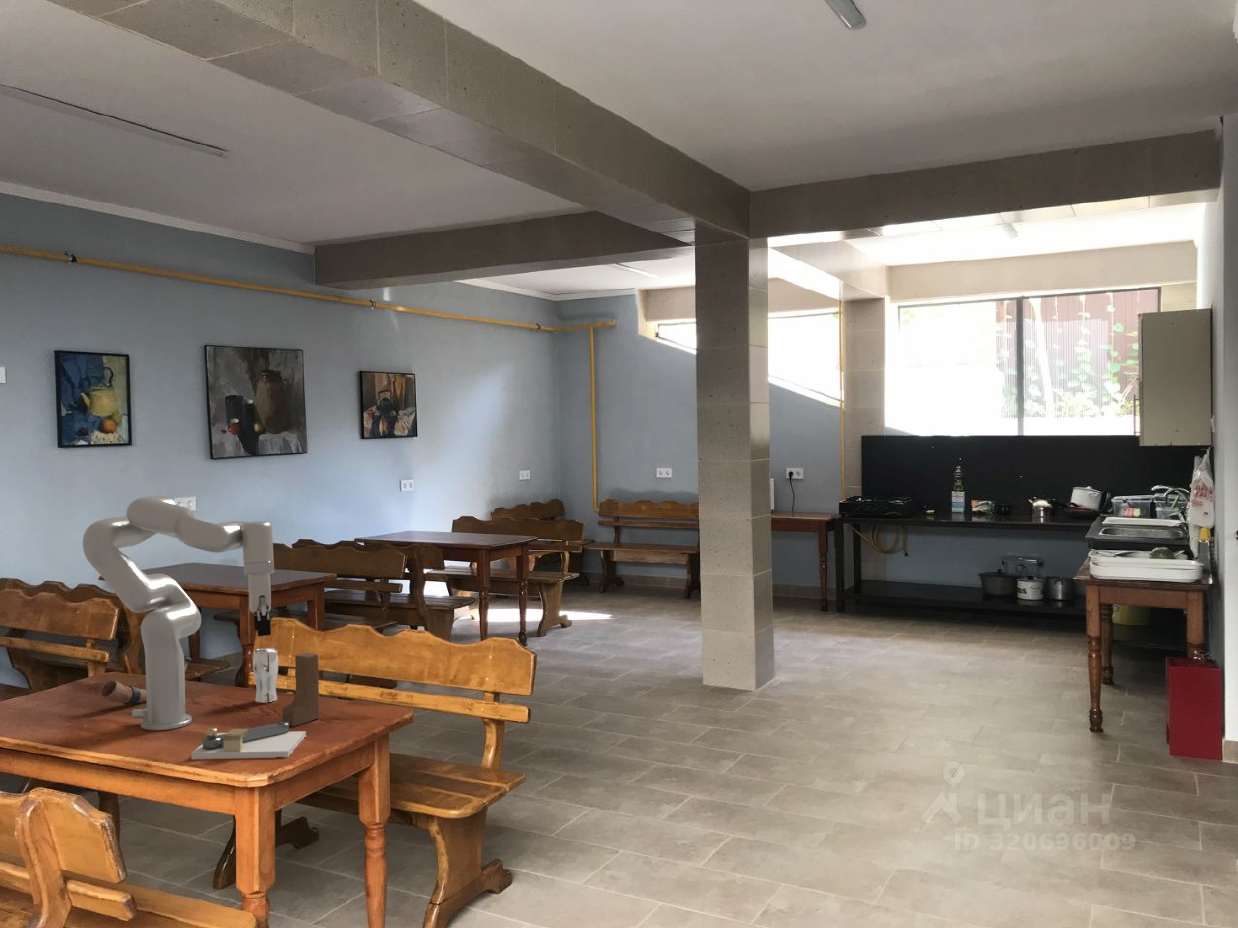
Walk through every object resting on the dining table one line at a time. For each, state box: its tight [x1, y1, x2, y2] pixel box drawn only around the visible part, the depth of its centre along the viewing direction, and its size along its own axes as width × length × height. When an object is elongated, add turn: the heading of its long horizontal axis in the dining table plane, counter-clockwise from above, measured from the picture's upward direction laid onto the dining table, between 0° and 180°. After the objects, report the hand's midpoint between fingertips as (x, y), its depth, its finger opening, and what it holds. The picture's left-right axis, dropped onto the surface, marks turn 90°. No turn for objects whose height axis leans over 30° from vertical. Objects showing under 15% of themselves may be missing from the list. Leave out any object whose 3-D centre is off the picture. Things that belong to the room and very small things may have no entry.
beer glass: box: [252, 647, 279, 704], centre depth 291 cm, size 7×7×15 cm
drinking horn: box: [99, 656, 192, 705], centre depth 293 cm, size 6×30×10 cm, turn 154°
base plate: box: [191, 730, 307, 760], centre depth 248 cm, size 23×16×2 cm
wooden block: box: [281, 652, 320, 728], centre depth 270 cm, size 9×4×18 cm, turn 146°
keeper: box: [206, 727, 249, 752], centre depth 243 cm, size 9×6×5 cm, turn 93°
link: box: [201, 721, 290, 749], centre depth 249 cm, size 22×4×2 cm, turn 133°
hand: (262, 632), depth 263 cm, fingers open, 9 cm apart
